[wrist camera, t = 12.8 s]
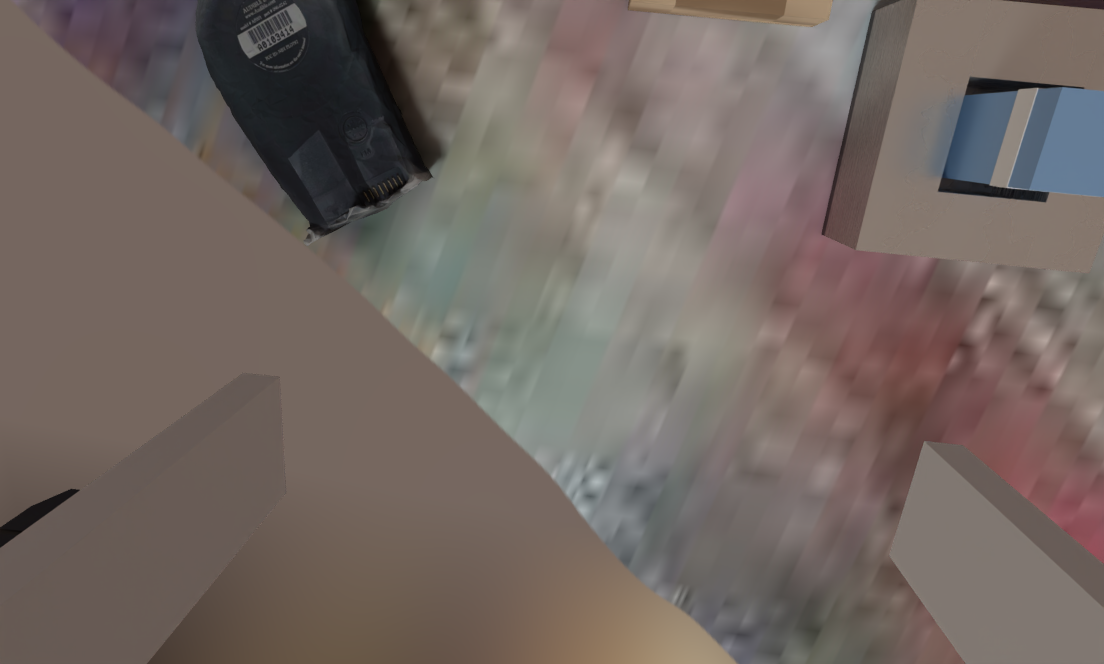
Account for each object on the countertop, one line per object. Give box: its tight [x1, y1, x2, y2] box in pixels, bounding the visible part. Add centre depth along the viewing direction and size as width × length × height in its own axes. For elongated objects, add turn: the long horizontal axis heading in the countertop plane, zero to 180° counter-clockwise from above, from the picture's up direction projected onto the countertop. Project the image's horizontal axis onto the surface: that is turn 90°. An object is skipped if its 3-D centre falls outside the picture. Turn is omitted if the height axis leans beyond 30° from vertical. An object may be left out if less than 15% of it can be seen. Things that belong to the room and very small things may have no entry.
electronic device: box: [196, 0, 435, 246], centre depth 35 cm, size 9×6×15 cm
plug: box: [942, 87, 1104, 197], centre depth 30 cm, size 4×4×10 cm
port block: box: [822, 0, 1104, 273], centre depth 33 cm, size 12×12×5 cm
